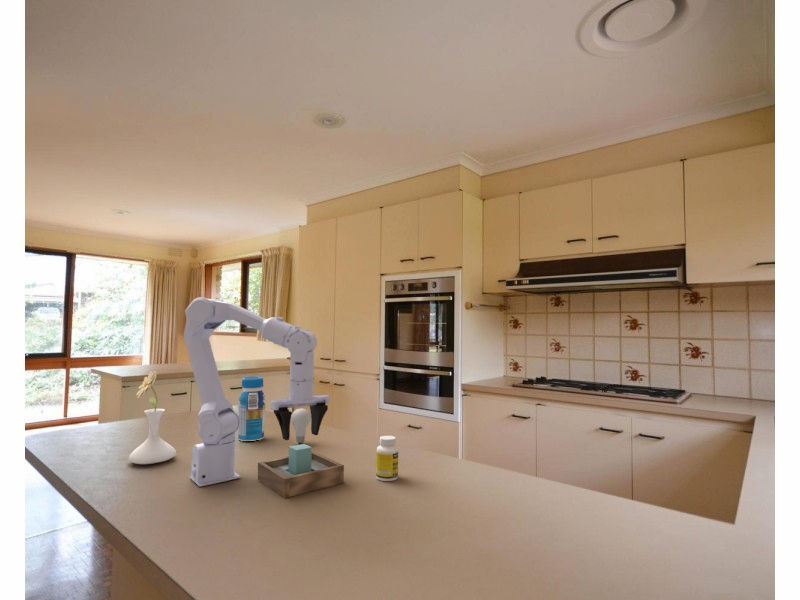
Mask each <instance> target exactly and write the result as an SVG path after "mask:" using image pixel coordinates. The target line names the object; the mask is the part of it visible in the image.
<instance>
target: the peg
mask: <svg viewBox="0 0 800 600" xmlns="http://www.w3.org/2000/svg"><path fill="white" fill-rule="evenodd" d="M312 452H313V447H312V446H310V445H307V444H305V443H302V444H296V445H289V446H288V456H289V470H288V472H289V473H291V474H293V475H298V474H302V473H307V472H311V462H312Z"/></svg>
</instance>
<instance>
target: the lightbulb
mask: <svg viewBox="0 0 800 600" xmlns="http://www.w3.org/2000/svg"><path fill="white" fill-rule="evenodd" d="M310 422H311V412H309V411H308V410H307V409H305V408H297V409H294V411H293V412H292V415H291V420H290V423H291V424H292V426H293V429H294V433H295V434H294V435H295V441H296V443H298V444H299V443H302V444H304V442H305V439H306V437H305V436H306V433H307V428H308V426H309V424H310Z"/></svg>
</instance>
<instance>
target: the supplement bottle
mask: <svg viewBox="0 0 800 600" xmlns="http://www.w3.org/2000/svg"><path fill="white" fill-rule="evenodd" d="M396 438H397V437H396V436H393V435H382V436H380V437H379V444H380V445H378V446H377V448H376V456H375V457H376V461H375V463H376V464H375V465H376V466H375V468H376V469H375V473H376V474H375V477H376V479H377V480H378V481H381V482H393V481H396V480H397V479H398V478H399V447H398V446H397V445H396V444H397V439H396Z"/></svg>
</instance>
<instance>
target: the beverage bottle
mask: <svg viewBox="0 0 800 600" xmlns="http://www.w3.org/2000/svg"><path fill="white" fill-rule="evenodd" d="M263 387H264V377H263V376H262V377H261V376H249V377H248V376H247V377H243V378H242V379H241V389H243V390H242V392H241V393H240V395H239V397H238V401H239V404H238V416H239V418H240V426H239V428H238V430H237V431H238V433H237V439H239V440H243V441H250V440H257V439H261V438H263V437H264V438H265V420H266V419H265V412H266V403H265V400H266V396H265V393H264V392H263V390H262V388H263ZM264 438H263V439H264ZM239 440H238V441H239Z"/></svg>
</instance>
